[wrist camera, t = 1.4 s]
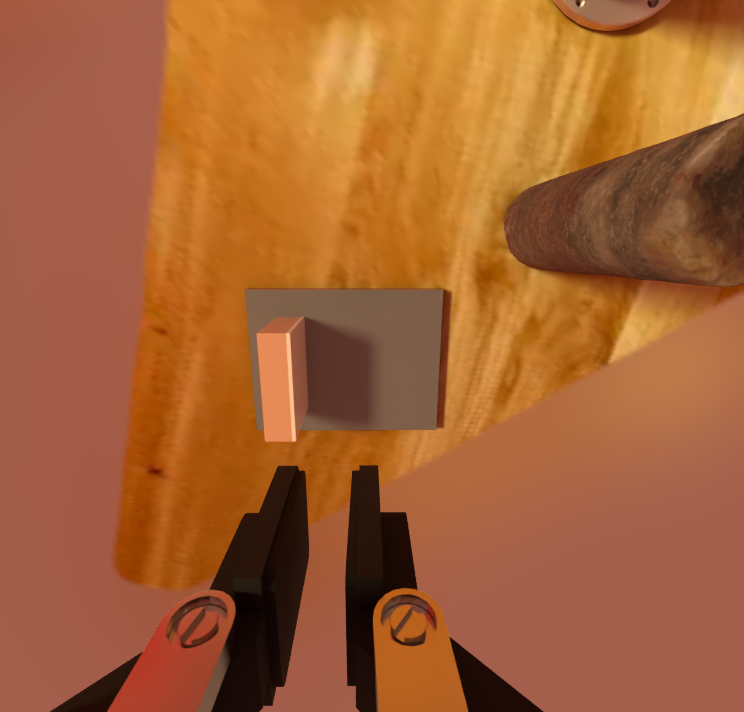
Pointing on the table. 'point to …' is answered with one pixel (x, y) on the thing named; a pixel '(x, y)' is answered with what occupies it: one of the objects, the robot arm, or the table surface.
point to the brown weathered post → (643, 213)
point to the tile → (283, 377)
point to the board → (359, 354)
